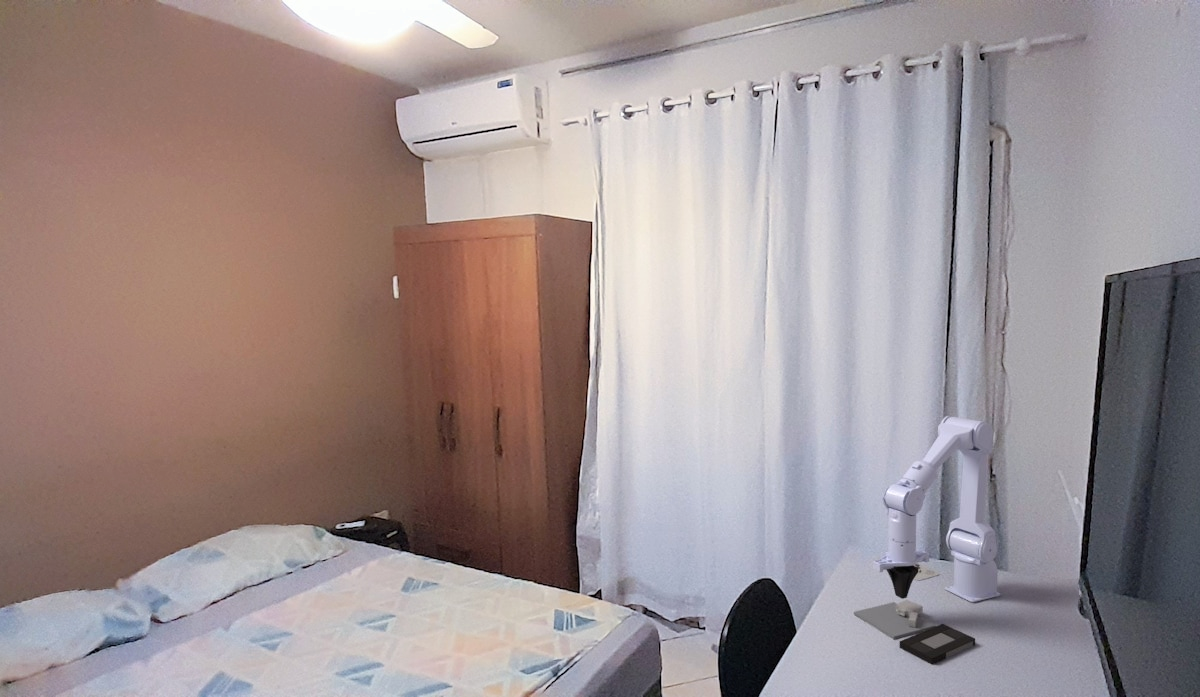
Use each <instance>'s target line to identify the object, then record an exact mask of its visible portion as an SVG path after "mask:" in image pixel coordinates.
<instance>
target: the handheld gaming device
mask: <svg viewBox="0 0 1200 697" xmlns="http://www.w3.org/2000/svg"><path fill="white" fill-rule="evenodd" d="M882 557H883V556H880V557H877V558H878V559H880V558H882ZM873 561H876V560H874V559H873ZM914 566H915V567H917V568H918V574H917V575H916V576H915V578H914V579H913V581H914V580H915V581H923V580H927V579H931V578H935V577H938V576H939V575H940V573H939V572H938V571H937V570H934V569H931V568H929V567H927V566H925V565H923V564H920V563H919V562H918V563H917V564H915V565H914Z"/></svg>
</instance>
